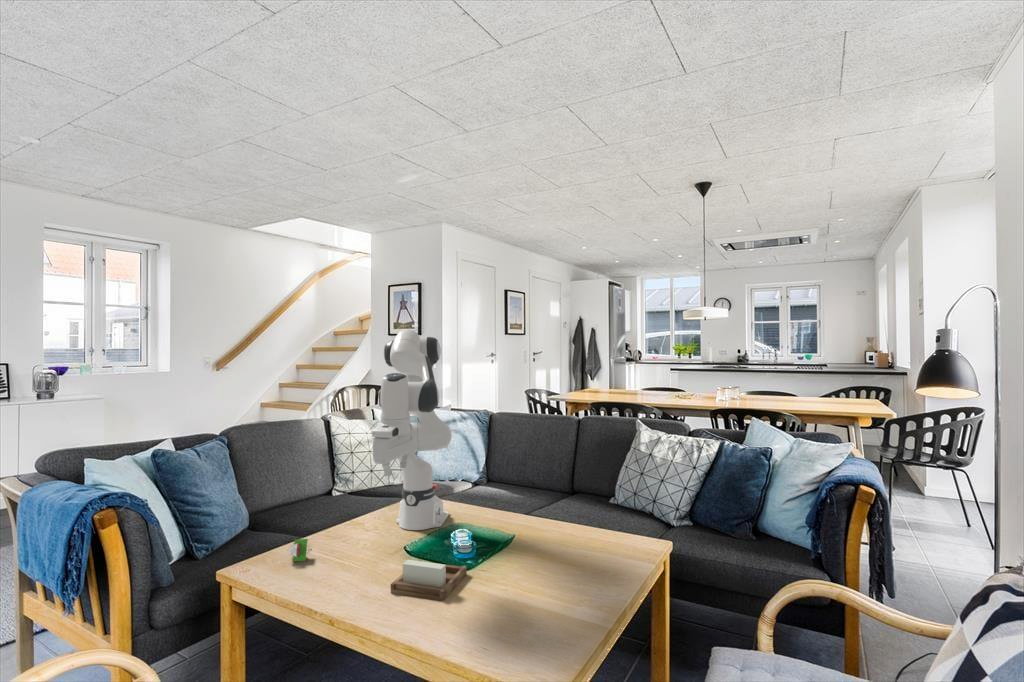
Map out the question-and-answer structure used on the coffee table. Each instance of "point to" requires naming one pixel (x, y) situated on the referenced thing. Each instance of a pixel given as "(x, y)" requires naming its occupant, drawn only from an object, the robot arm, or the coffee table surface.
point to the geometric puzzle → (299, 550)
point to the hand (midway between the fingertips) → (396, 471)
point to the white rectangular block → (424, 573)
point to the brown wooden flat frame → (431, 592)
